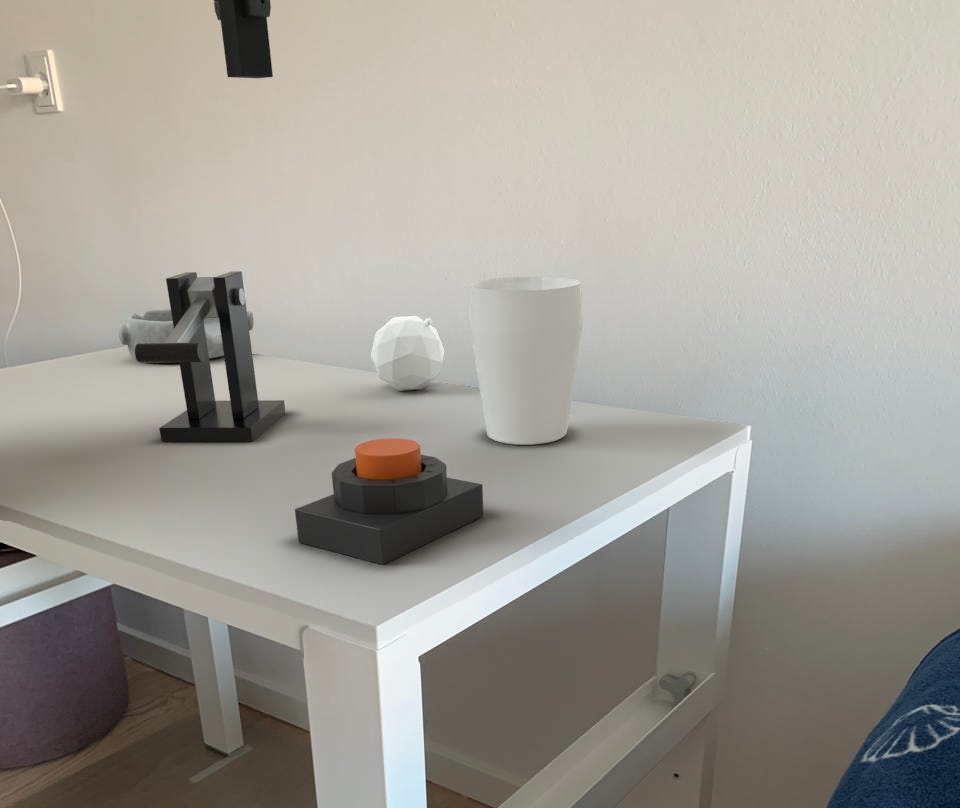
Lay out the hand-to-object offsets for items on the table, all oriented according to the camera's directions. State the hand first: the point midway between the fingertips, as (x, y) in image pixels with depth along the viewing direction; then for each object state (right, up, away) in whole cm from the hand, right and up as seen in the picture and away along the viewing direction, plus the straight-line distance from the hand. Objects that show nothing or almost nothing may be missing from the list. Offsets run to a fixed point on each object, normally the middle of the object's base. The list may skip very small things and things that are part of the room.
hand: (250, 76), depth 67 cm
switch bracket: (-7, -19, +22) cm, 30 cm away
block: (+10, -31, -4) cm, 33 cm away
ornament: (+8, -13, +34) cm, 37 cm away
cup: (+19, -21, +16) cm, 33 cm away
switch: (-8, -13, +14) cm, 21 cm away
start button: (+10, -28, -5) cm, 30 cm away
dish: (-20, -3, +55) cm, 58 cm away
